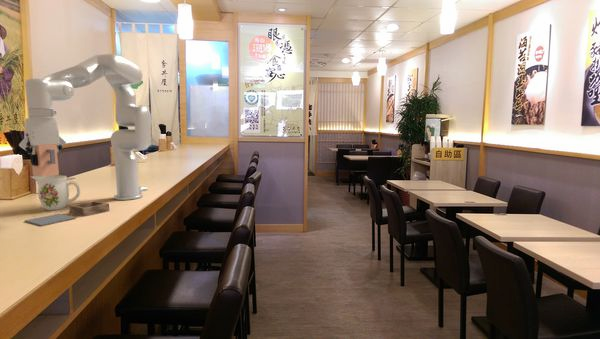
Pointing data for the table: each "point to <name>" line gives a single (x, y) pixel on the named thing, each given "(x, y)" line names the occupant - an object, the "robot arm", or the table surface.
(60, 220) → the rubber mat
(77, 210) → the frame
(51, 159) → the peach block with tab
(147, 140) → the robot arm
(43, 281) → the table surface
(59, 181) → the pitcher
